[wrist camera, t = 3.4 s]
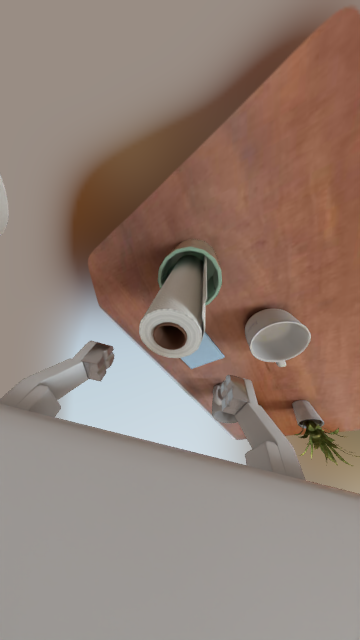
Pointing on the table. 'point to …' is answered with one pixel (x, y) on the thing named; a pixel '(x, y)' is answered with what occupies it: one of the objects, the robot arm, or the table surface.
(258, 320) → the teacup
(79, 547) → the robot arm
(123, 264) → the table surface
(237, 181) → the table surface
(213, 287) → the sage green pencil cup
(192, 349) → the paper towel roll
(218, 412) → the mug
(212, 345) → the mat
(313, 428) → the house plant
